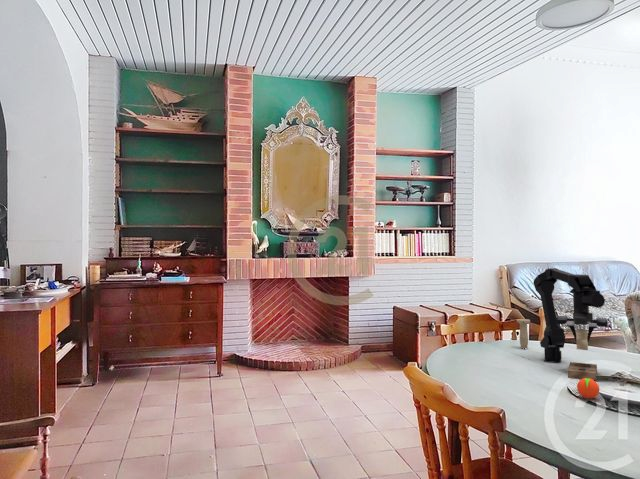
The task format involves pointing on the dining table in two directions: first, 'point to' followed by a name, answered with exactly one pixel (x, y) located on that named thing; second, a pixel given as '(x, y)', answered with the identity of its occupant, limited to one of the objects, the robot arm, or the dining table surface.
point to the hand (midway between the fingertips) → (582, 341)
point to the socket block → (582, 370)
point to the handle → (523, 332)
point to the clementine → (588, 388)
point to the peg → (582, 339)
